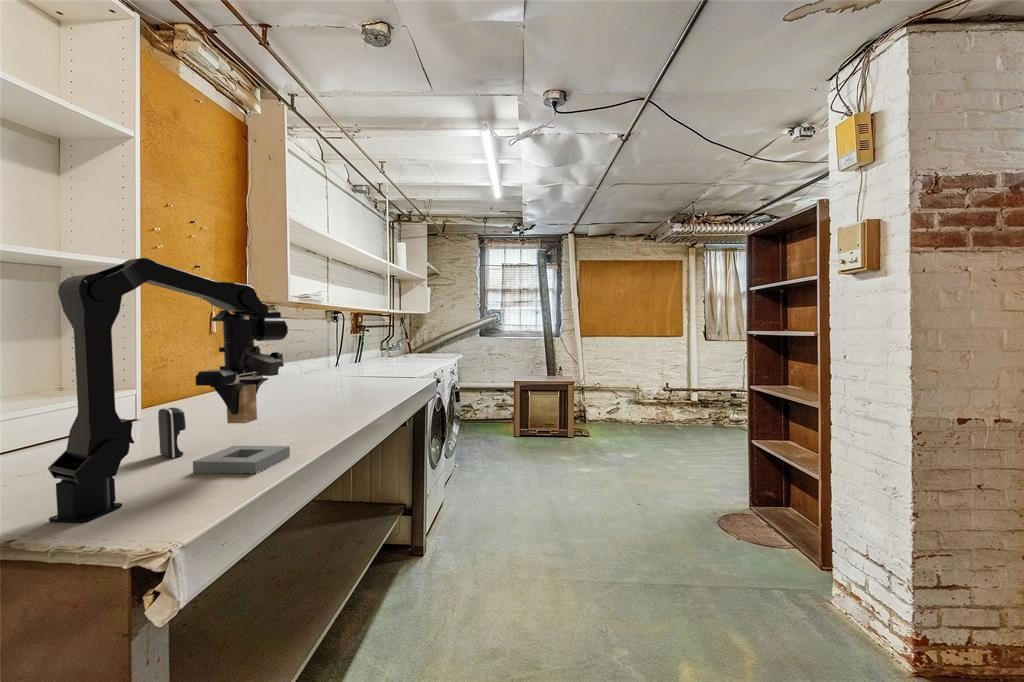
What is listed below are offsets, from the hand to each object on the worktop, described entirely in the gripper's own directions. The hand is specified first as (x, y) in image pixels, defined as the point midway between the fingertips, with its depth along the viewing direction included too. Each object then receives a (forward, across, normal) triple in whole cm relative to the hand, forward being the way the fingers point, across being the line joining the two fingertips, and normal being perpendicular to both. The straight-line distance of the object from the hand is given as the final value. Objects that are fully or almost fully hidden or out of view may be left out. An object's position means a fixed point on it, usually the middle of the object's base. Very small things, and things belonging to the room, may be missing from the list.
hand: (241, 412), depth 98 cm
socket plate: (+12, 0, 0) cm, 12 cm away
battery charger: (+12, +6, +22) cm, 26 cm away
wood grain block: (+2, 0, 0) cm, 2 cm away
